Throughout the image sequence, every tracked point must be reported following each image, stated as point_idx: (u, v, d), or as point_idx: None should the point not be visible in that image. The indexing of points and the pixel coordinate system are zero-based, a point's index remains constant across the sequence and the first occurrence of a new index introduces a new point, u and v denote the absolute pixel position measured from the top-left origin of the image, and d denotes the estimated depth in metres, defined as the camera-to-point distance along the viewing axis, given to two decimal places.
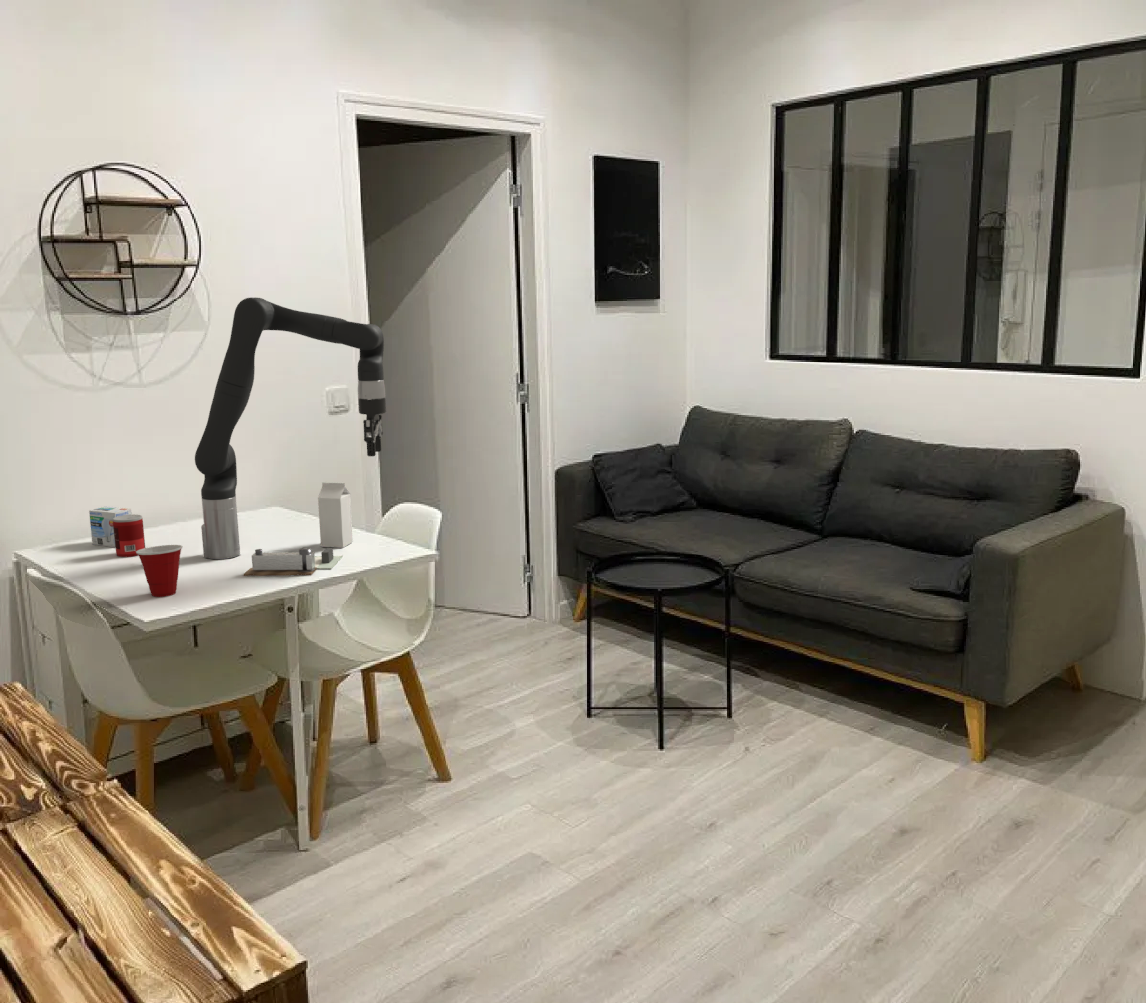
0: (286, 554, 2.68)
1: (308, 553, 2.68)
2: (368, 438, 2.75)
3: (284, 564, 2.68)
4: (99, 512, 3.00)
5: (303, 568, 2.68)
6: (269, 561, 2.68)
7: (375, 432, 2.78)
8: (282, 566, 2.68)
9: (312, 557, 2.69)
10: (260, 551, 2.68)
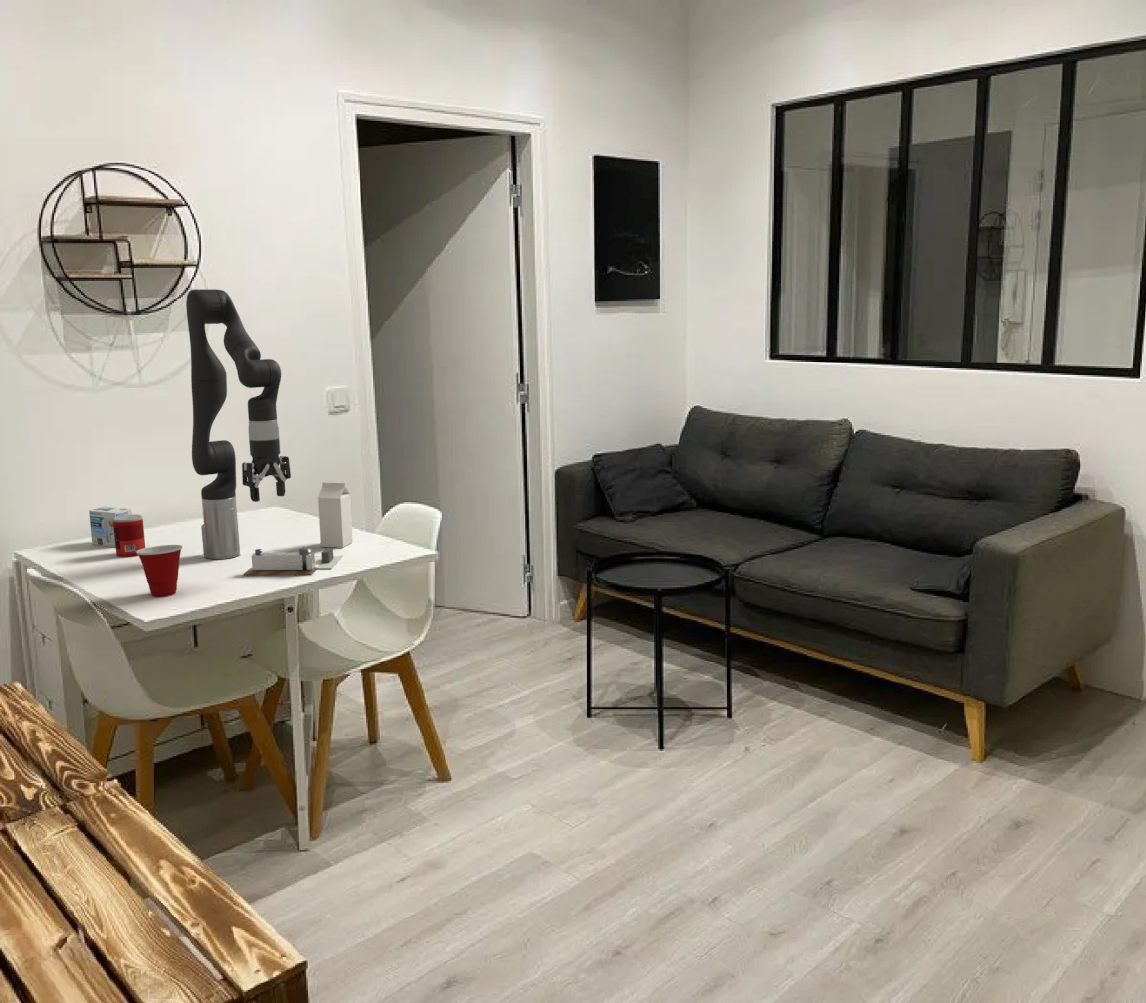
0: (286, 554, 2.68)
1: (308, 553, 2.68)
2: None
3: (284, 564, 2.68)
4: (99, 512, 3.00)
5: (303, 568, 2.68)
6: (269, 561, 2.68)
7: None
8: (282, 566, 2.68)
9: (312, 557, 2.69)
10: (260, 551, 2.68)
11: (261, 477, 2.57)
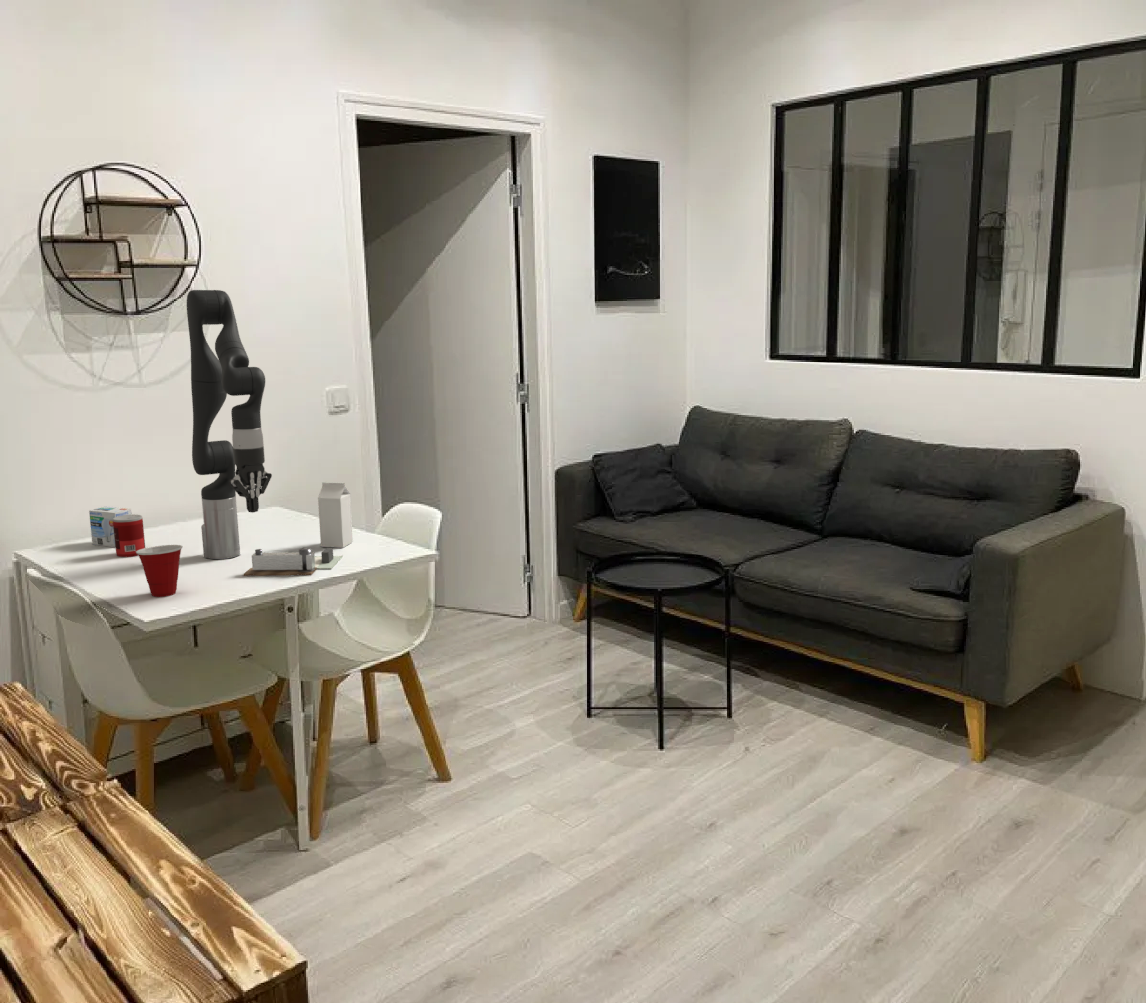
0: (286, 554, 2.68)
1: (308, 553, 2.68)
2: None
3: (284, 564, 2.68)
4: (99, 512, 3.00)
5: (303, 568, 2.68)
6: (269, 561, 2.68)
7: None
8: (282, 566, 2.68)
9: (312, 557, 2.69)
10: (260, 551, 2.68)
11: (252, 487, 2.57)
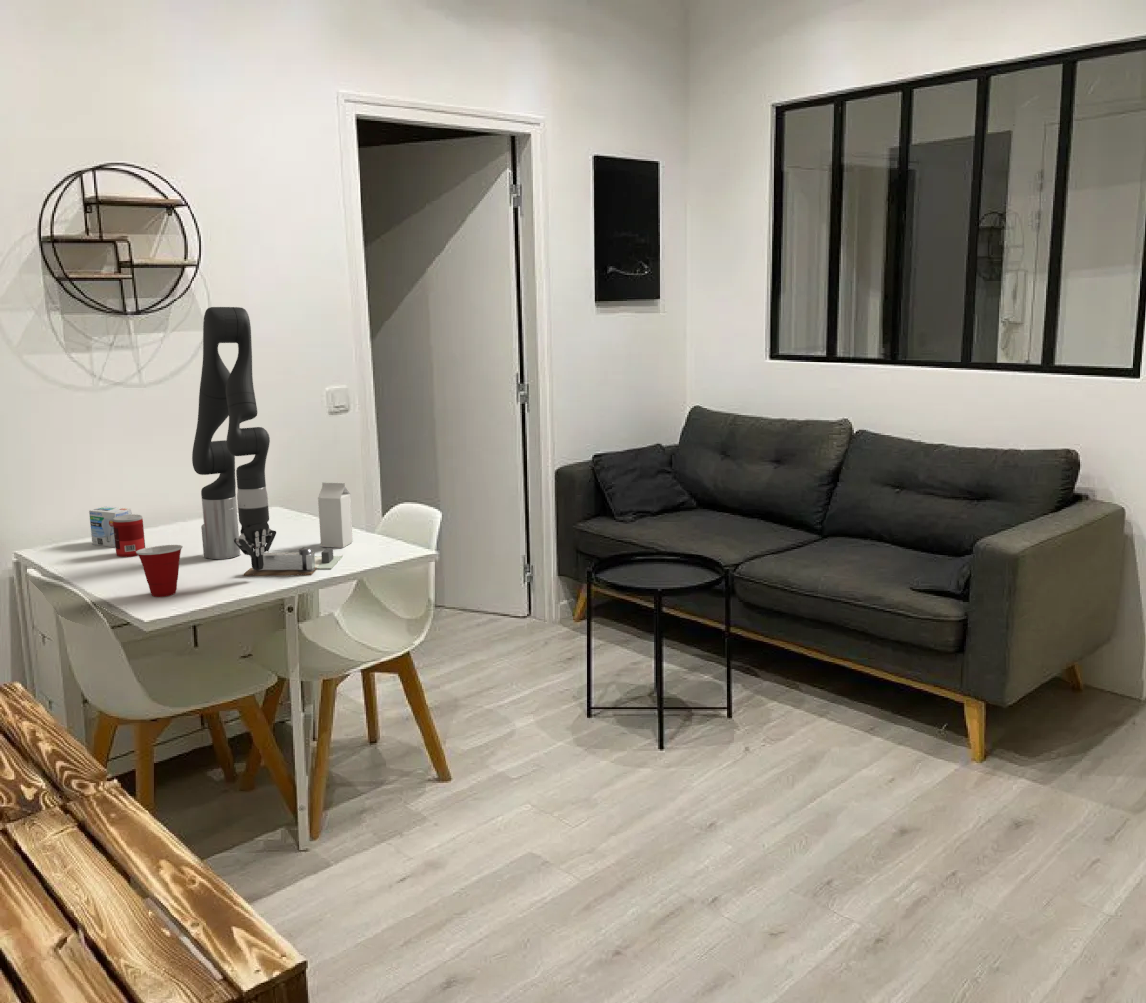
0: (286, 554, 2.68)
1: (308, 553, 2.68)
2: None
3: (284, 564, 2.68)
4: (99, 512, 3.00)
5: (303, 568, 2.68)
6: (269, 561, 2.68)
7: None
8: (282, 566, 2.68)
9: (312, 557, 2.69)
10: None
11: (257, 545, 2.60)
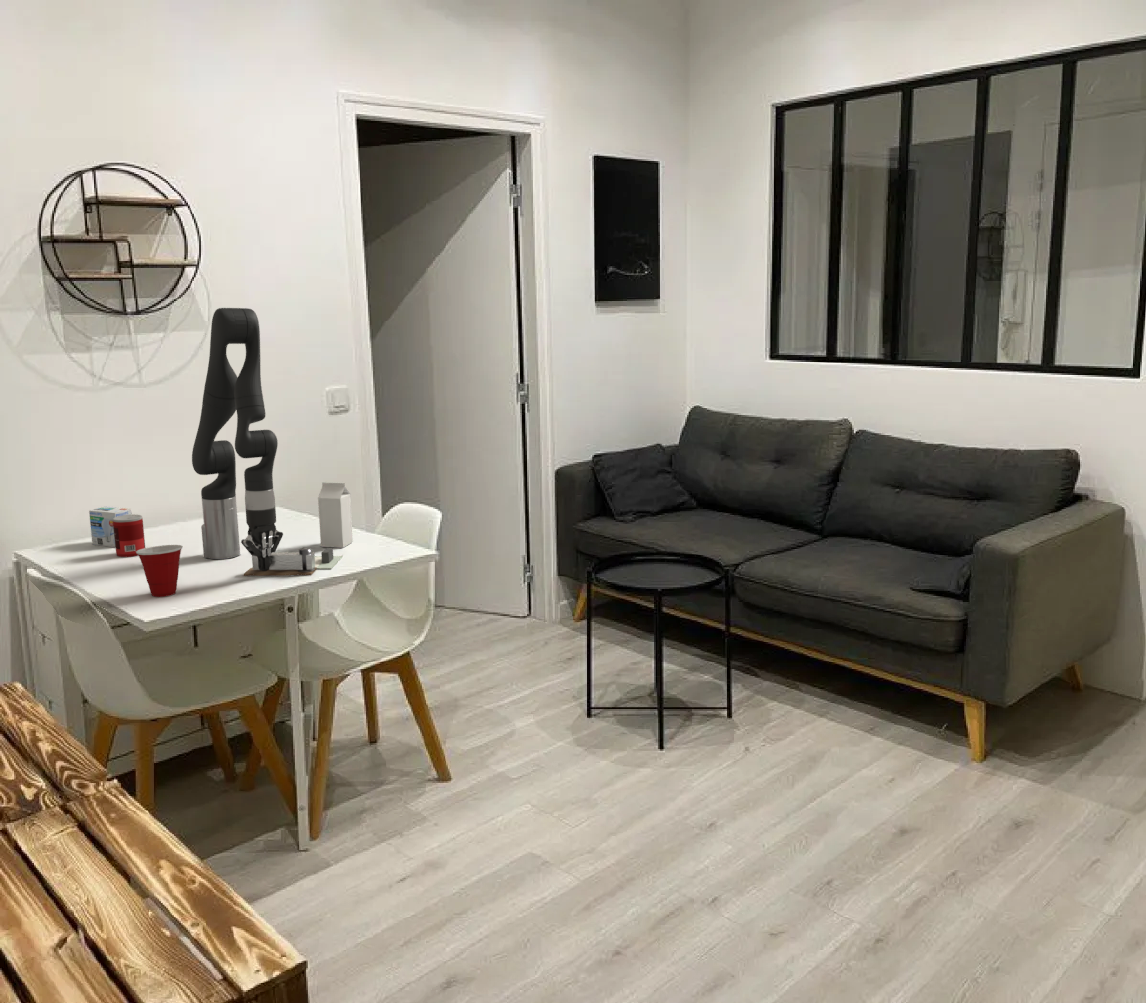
0: (286, 554, 2.68)
1: (308, 553, 2.68)
2: None
3: (284, 564, 2.68)
4: (99, 512, 3.00)
5: (303, 568, 2.68)
6: None
7: None
8: (282, 565, 2.68)
9: (312, 557, 2.68)
10: None
11: (264, 547, 2.63)
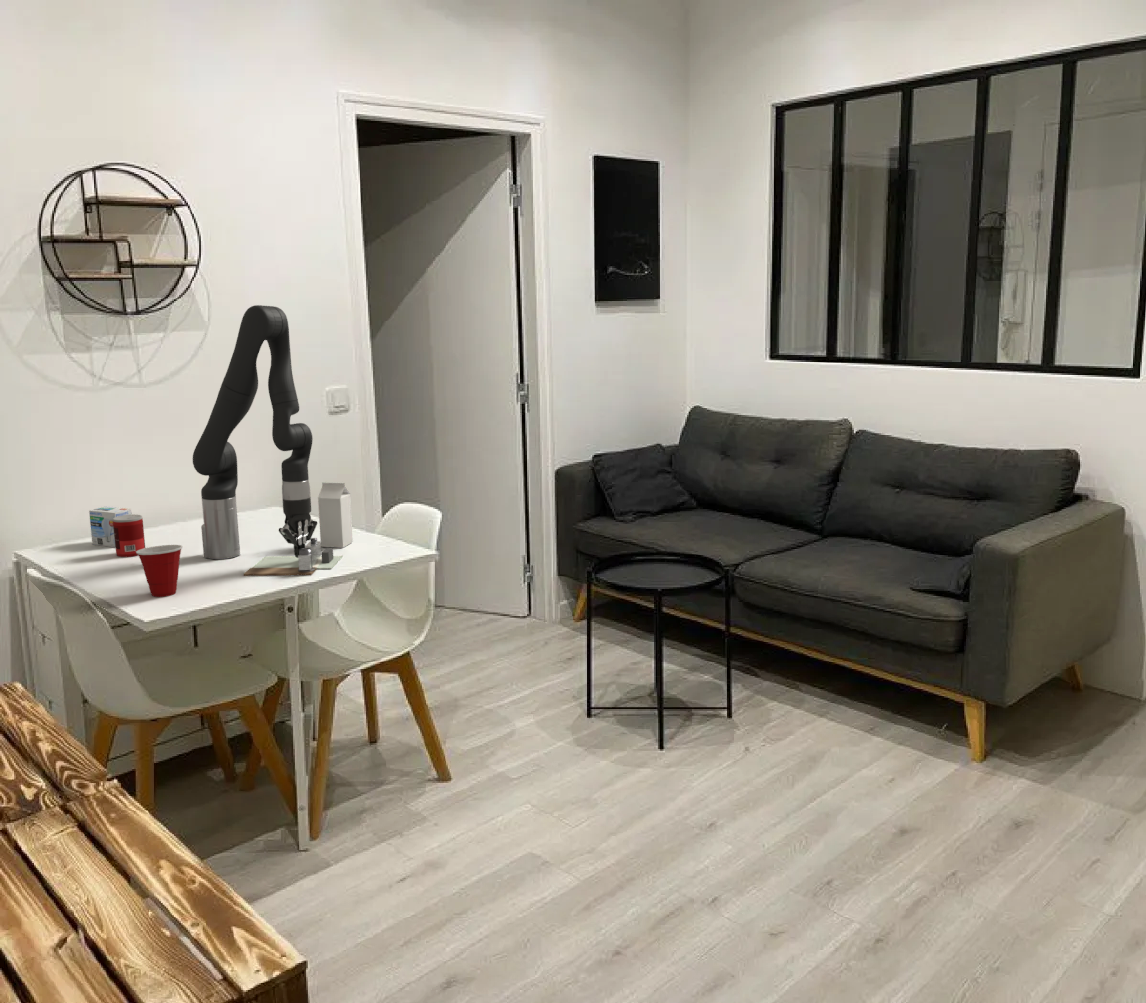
0: None
1: (300, 553, 2.68)
2: None
3: None
4: (99, 512, 3.00)
5: None
6: None
7: None
8: None
9: (302, 558, 2.67)
10: (311, 540, 2.80)
11: (300, 535, 2.76)
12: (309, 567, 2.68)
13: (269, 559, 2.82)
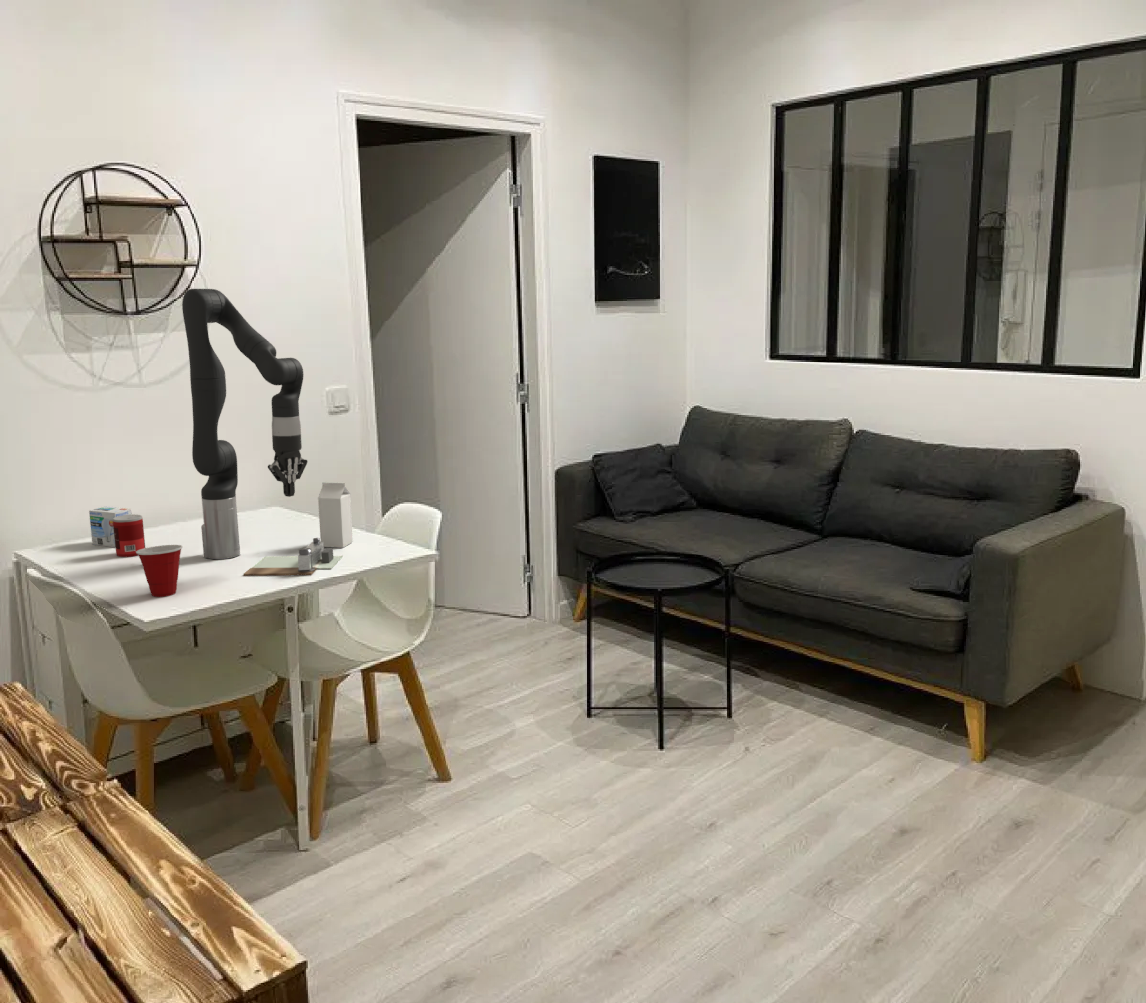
0: None
1: (300, 553, 2.68)
2: None
3: None
4: (99, 512, 3.00)
5: None
6: None
7: None
8: None
9: (301, 558, 2.67)
10: (313, 540, 2.80)
11: (290, 472, 2.70)
12: (308, 567, 2.68)
13: (269, 559, 2.82)
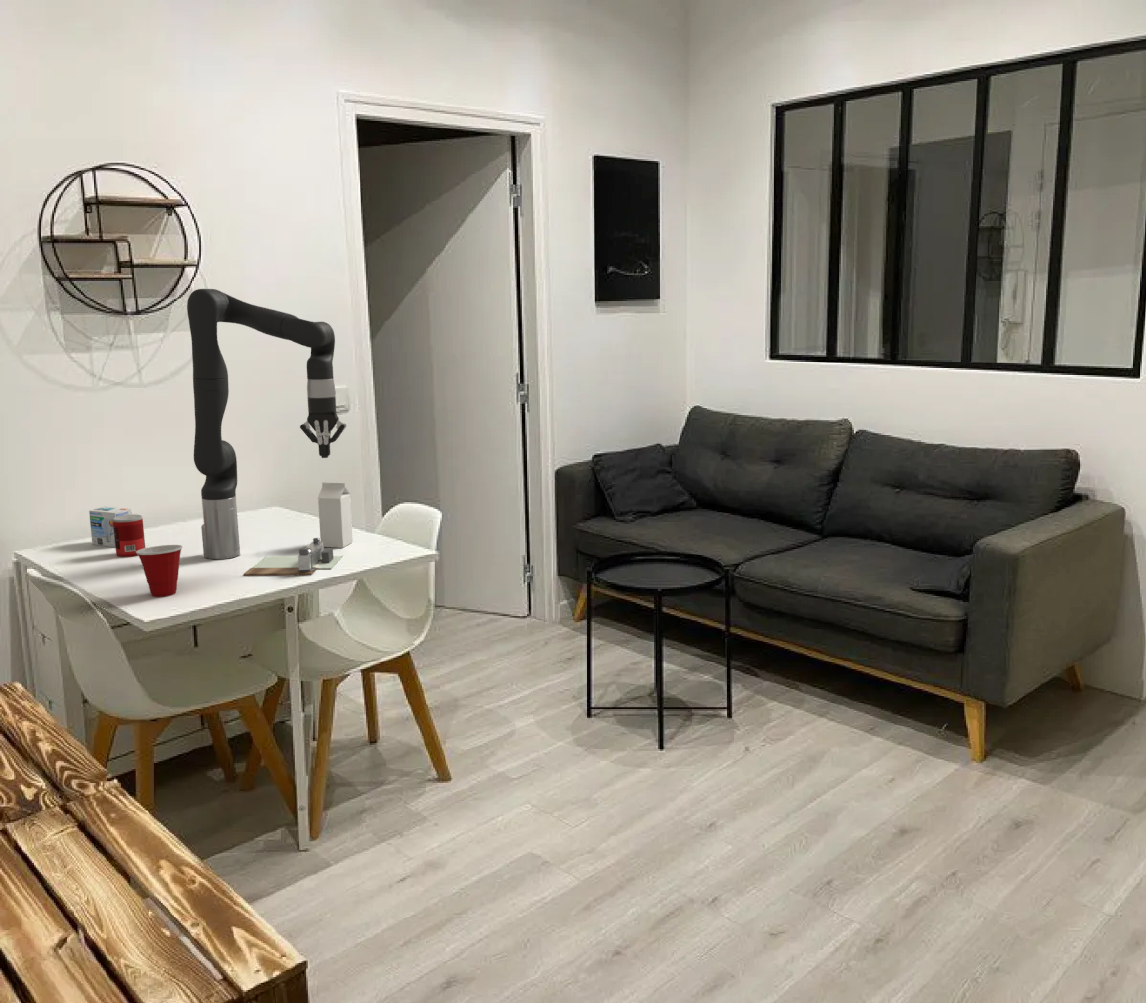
0: None
1: (300, 553, 2.68)
2: None
3: None
4: (99, 512, 3.00)
5: None
6: None
7: (330, 433, 2.79)
8: None
9: (301, 558, 2.67)
10: (313, 540, 2.80)
11: (318, 434, 2.76)
12: (308, 567, 2.68)
13: (269, 559, 2.82)
